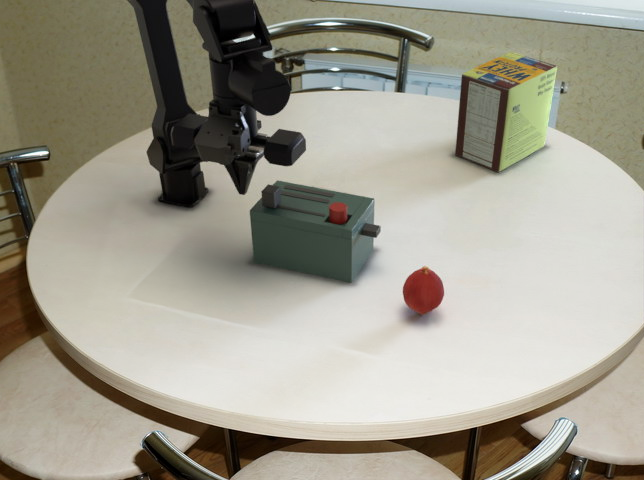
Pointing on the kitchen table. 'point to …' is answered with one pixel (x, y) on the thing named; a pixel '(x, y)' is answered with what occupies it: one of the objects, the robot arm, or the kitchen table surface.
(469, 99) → the protein box
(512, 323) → the kitchen table surface
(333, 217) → the button
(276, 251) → the toaster
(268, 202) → the slider
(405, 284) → the onion
